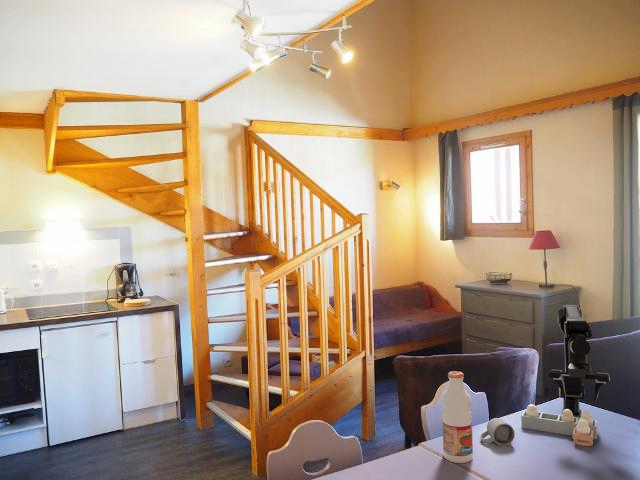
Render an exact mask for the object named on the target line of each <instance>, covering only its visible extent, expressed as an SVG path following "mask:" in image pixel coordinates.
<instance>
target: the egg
mask: <svg viewBox="0 0 640 480" xmlns="http://www.w3.org/2000/svg"><path fill="white" fill-rule="evenodd" d="M576 431H577V433H578V434H584V435H589V433H590V427H589V424H588V422H587V421H586V420H584V419H580V420H579V421H578V423H577V426H576Z"/></svg>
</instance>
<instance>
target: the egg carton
mask: <svg viewBox="0 0 640 480" xmlns="http://www.w3.org/2000/svg"><path fill="white" fill-rule="evenodd" d="M562 410H563V409H562ZM520 417H521V429H528V430H532V431H533V430H535V431H539V432H548V433H553V434H559V433H560V434H561V435H565V434H566V435H565V436H571V435H572V437H573V430H574V427H576V426H577V423H578V421H579V420H580V419H584V420H586V421H587V422H588V424H589V427H590V430H593V432H594V436H593V440H597V439H598V419H593V418H592V414H591V413H590V412H589V411H582V412H581V414H580V416H574V415H573V413H572V411H571V410H569V409H565V410H563V412H562V411H561V414H556V413H551V412H550V413H548V412H542V411H538V408H537V405H535V404H531V403H530V404H529V405H528V406H527V407H526V409H523V412H522V414H521V416H520Z"/></svg>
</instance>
